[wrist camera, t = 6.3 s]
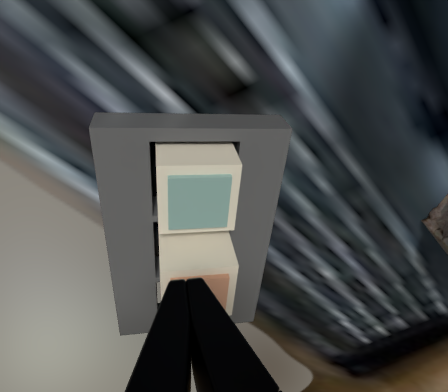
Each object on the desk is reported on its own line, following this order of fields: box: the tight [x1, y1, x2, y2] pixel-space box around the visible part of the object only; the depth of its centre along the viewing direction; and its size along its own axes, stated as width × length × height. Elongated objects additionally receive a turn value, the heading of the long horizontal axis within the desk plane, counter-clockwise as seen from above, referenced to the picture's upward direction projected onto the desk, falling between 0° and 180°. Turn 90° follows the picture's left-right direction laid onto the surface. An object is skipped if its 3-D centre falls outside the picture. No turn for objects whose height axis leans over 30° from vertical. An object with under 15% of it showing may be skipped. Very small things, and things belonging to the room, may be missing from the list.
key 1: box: [156, 141, 242, 234], centre depth 18 cm, size 4×4×4 cm
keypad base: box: [89, 112, 292, 335], centre depth 22 cm, size 10×16×2 cm, turn 175°
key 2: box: [159, 231, 239, 316], centre depth 19 cm, size 4×4×4 cm
